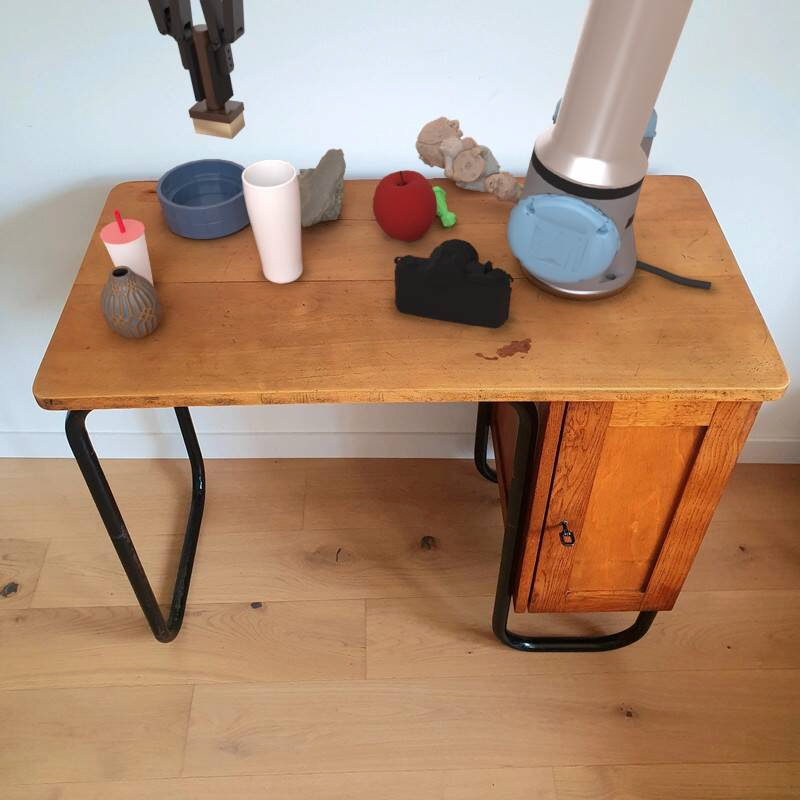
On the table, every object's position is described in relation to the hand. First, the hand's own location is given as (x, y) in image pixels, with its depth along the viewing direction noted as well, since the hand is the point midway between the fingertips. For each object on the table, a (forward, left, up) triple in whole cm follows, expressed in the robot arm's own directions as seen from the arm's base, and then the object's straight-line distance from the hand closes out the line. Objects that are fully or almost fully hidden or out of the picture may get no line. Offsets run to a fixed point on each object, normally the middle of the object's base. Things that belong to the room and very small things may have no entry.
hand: (214, 97), depth 92 cm
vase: (+5, +19, -22) cm, 29 cm away
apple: (-20, -11, -22) cm, 32 cm away
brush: (0, 0, -4) cm, 4 cm away
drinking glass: (-7, +3, -22) cm, 24 cm away
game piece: (-22, -17, -20) cm, 34 cm away
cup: (+9, +12, -22) cm, 27 cm away
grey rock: (-6, -12, -22) cm, 26 cm away
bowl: (+8, -6, -22) cm, 24 cm away
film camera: (-31, +2, -22) cm, 38 cm away
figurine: (-18, -31, -17) cm, 40 cm away
